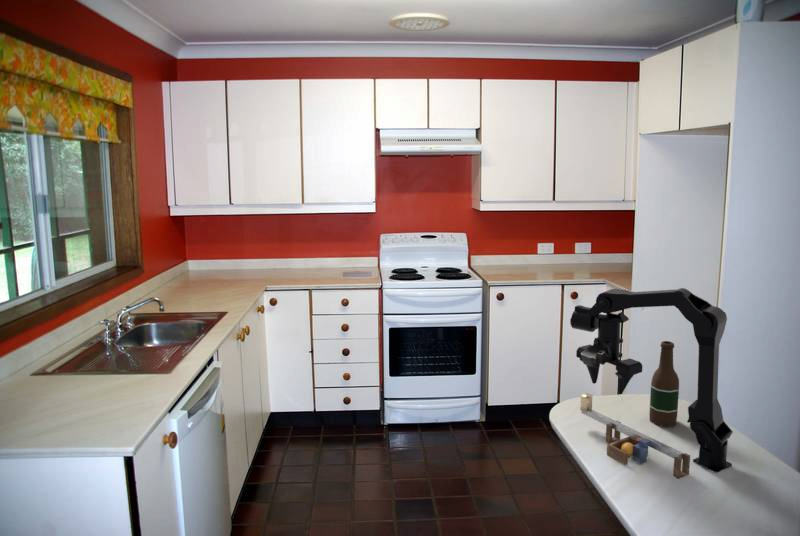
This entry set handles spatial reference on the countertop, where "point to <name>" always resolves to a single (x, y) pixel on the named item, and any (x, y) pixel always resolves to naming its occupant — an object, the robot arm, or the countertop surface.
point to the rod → (628, 433)
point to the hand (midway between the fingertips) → (606, 388)
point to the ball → (628, 449)
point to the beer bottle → (664, 389)
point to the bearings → (677, 461)
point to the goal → (616, 451)
